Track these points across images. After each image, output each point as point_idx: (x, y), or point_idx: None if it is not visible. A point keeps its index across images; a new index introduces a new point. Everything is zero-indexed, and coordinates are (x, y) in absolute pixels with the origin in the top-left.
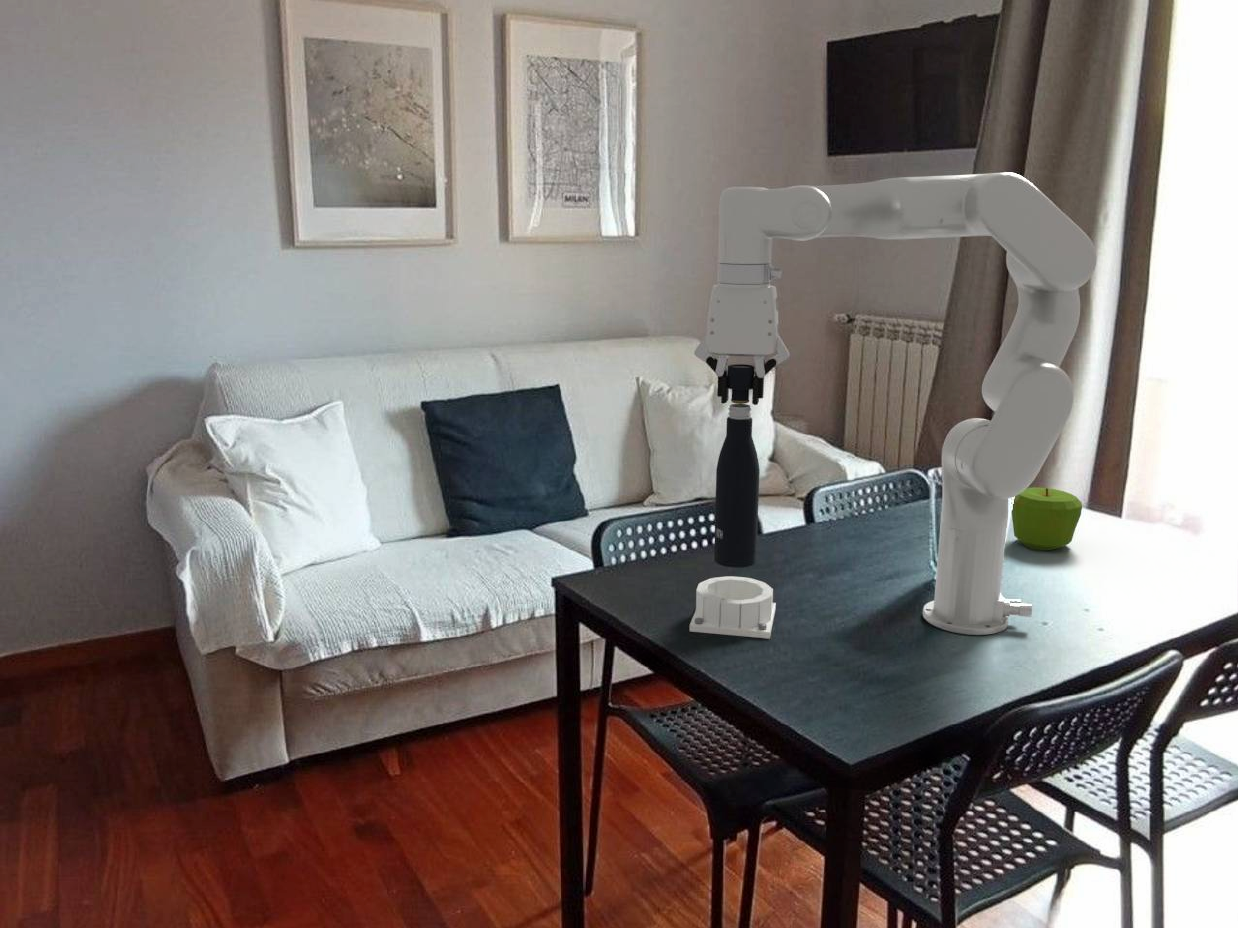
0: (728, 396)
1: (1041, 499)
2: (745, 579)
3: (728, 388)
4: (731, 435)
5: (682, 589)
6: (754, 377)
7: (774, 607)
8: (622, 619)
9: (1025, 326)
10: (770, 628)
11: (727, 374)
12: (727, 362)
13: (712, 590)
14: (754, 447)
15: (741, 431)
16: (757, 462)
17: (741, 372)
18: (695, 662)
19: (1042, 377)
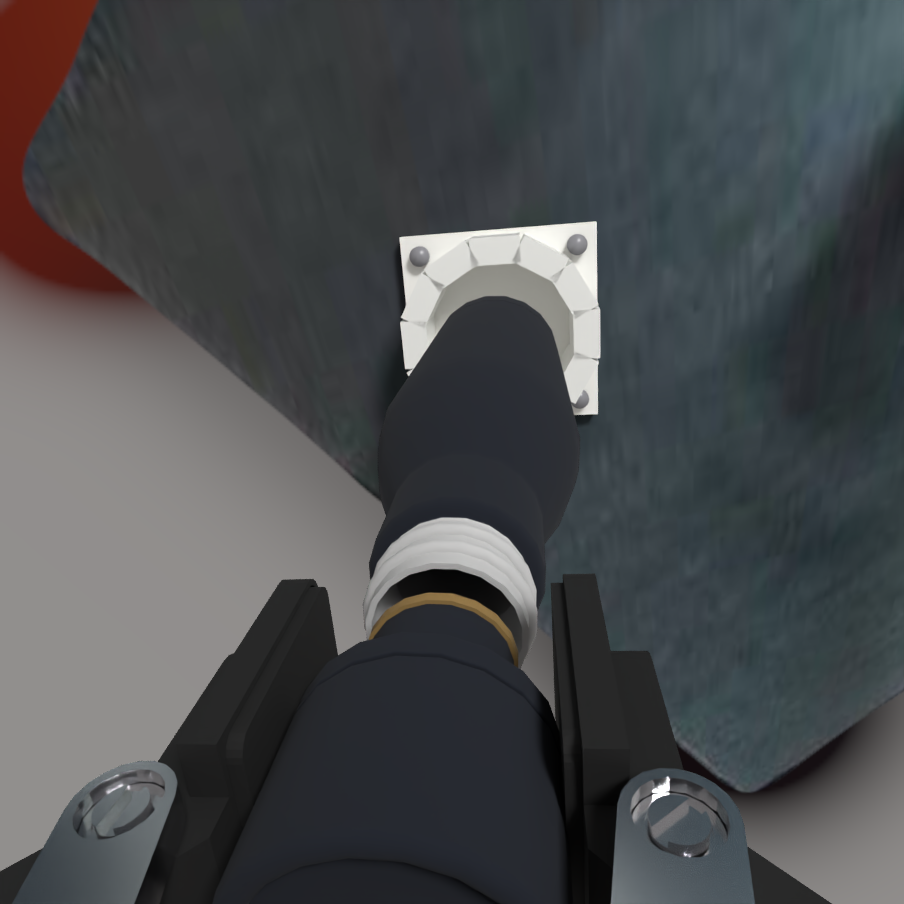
0: (318, 600)
1: None
2: (515, 253)
3: (297, 665)
4: (431, 590)
5: (331, 152)
6: (577, 872)
7: (595, 255)
8: (263, 393)
9: None
10: (597, 392)
11: (228, 787)
12: (135, 900)
13: (436, 304)
14: (559, 502)
15: (489, 609)
16: (574, 481)
17: None
18: None
19: None
